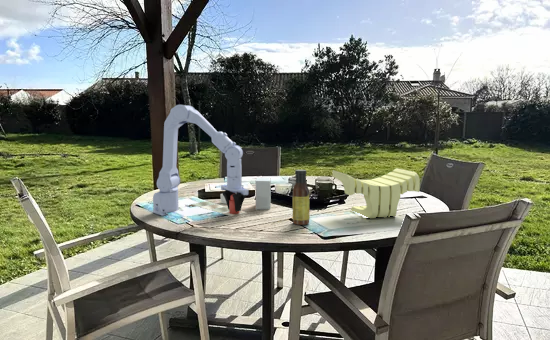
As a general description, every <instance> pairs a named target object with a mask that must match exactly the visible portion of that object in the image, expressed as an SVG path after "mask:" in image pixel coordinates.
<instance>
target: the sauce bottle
mask: <svg viewBox="0 0 550 340" xmlns="http://www.w3.org/2000/svg"><path fill="white" fill-rule="evenodd" d="M294 172H295V183H294V185H293V187H292V222H293V224H294V225H297V226H305V225H309V223H310V219H311V218H310V206H311V205H310V190H309V186H308V183H307V170H306V169H295V170H294Z"/></svg>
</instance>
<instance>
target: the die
mask: <svg viewBox="0 0 550 340" xmlns="http://www.w3.org/2000/svg"><path fill="white" fill-rule="evenodd" d="M220 204H226V205H227V203H226V200H225V197H224V196H223V193H220Z"/></svg>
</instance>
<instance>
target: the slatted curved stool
mask: <svg viewBox="0 0 550 340" xmlns="http://www.w3.org/2000/svg"><path fill="white" fill-rule="evenodd" d="M332 177H333V178H335V179H337V180H338V181H340V182H341V183H342V186H343V189H344V194H345V195H348V196H352V195H355V194H357V195H359V194H360V195H363V198H364V200H365V203H366V204H365V205H360V206H357V205H355V206H351V208H350V210H352V211H355V212H357V213H360V214H362V215H364V216H366V217H368V218H370V219H377V218H376V217H384V218H391V217H390V216H397V212H398V211H397V210H398V205H399V202H400V200H401V195H404V194H405V193H408V192H416V193H417V192H418V193H419V192H420V186H421V185H420V184H421V183H420V182H421V179H420V176H419V174H418V173H417V172H415V171H411V170H407V169H403V168H399V167H397V168H394V169H393V170H392V171H390V172H388V173H386V174H384V175H381V176H380V177H375V178H371V179H357V178H355V177H353V176H351V175H349V174H347V173H344V172H340V171H337V170H334V169H333V170H332ZM387 216H388V217H387Z"/></svg>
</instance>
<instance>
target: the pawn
mask: <svg viewBox="0 0 550 340" xmlns="http://www.w3.org/2000/svg"><path fill="white" fill-rule="evenodd" d="M230 199H231V200H229V213H230V214H238V213H239V211H238V212H236V211H235V202H234V198H233V196H232V195H231V197H230Z"/></svg>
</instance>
